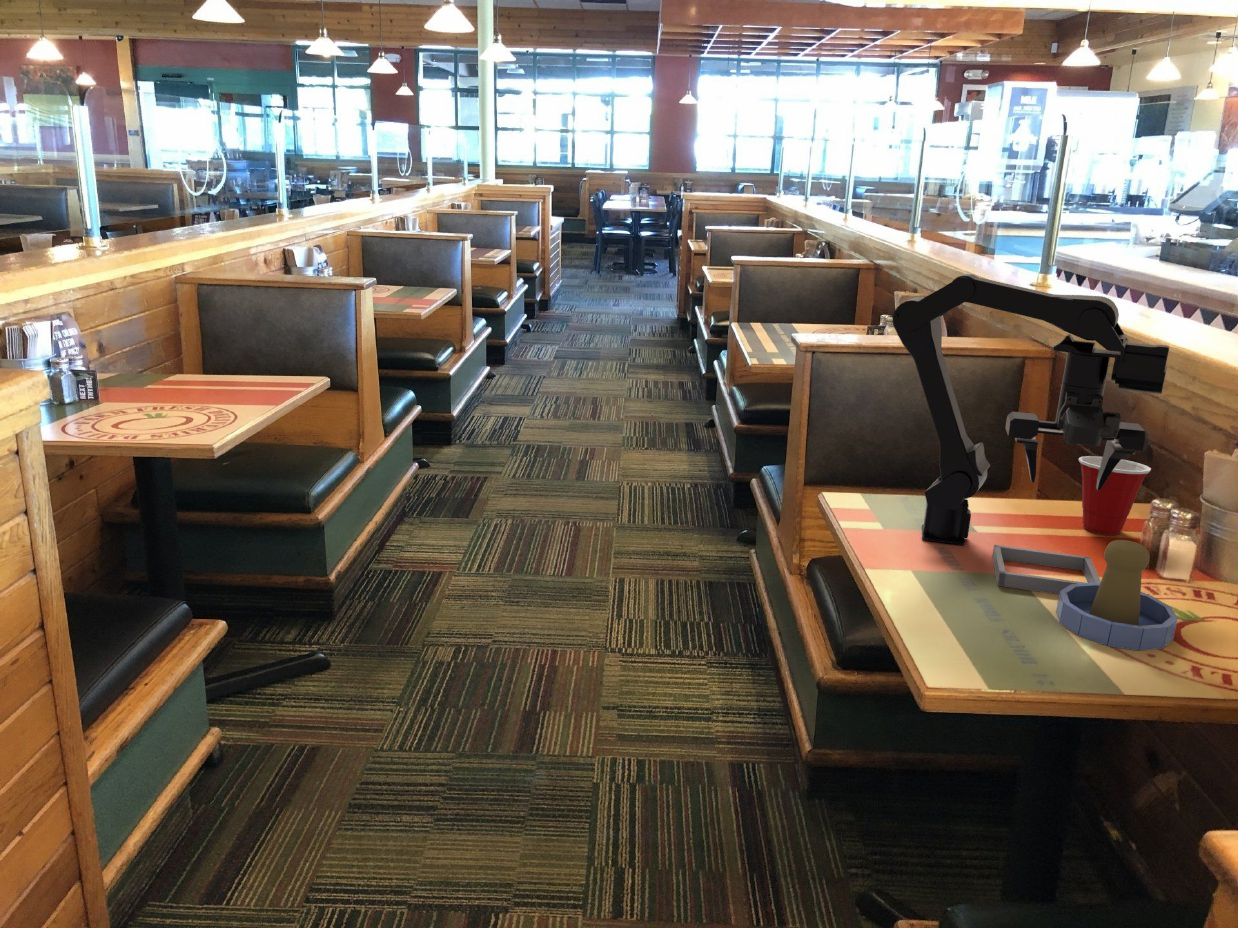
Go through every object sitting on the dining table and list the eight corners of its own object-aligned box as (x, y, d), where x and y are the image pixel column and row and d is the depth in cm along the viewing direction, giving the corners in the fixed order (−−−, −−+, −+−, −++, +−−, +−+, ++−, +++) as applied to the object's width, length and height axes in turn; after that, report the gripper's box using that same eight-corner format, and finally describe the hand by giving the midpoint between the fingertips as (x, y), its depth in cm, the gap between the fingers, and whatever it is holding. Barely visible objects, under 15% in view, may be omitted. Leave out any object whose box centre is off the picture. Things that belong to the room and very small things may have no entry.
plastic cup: (1136, 525, 168) (1150, 458, 164) (1138, 545, 158) (1153, 475, 155) (1067, 513, 172) (1079, 448, 168) (1065, 533, 162) (1078, 464, 159)
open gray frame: (997, 585, 141) (1000, 572, 140) (992, 556, 151) (994, 544, 151) (1100, 600, 137) (1103, 586, 136) (1087, 569, 148) (1089, 557, 147)
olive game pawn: (1128, 612, 132) (1144, 536, 129) (1146, 633, 126) (1163, 554, 123) (1082, 609, 133) (1096, 533, 129) (1097, 629, 127) (1113, 550, 124)
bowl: (1064, 639, 125) (1068, 618, 124) (1051, 596, 138) (1055, 577, 137) (1182, 657, 121) (1187, 635, 121) (1158, 611, 134) (1162, 591, 133)
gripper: (1020, 389, 138) (1003, 494, 142) (1166, 402, 133) (1144, 510, 138) (1013, 374, 148) (997, 472, 153) (1148, 386, 143) (1128, 487, 148)
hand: (1065, 485), depth 147 cm, fingers open, 9 cm apart
